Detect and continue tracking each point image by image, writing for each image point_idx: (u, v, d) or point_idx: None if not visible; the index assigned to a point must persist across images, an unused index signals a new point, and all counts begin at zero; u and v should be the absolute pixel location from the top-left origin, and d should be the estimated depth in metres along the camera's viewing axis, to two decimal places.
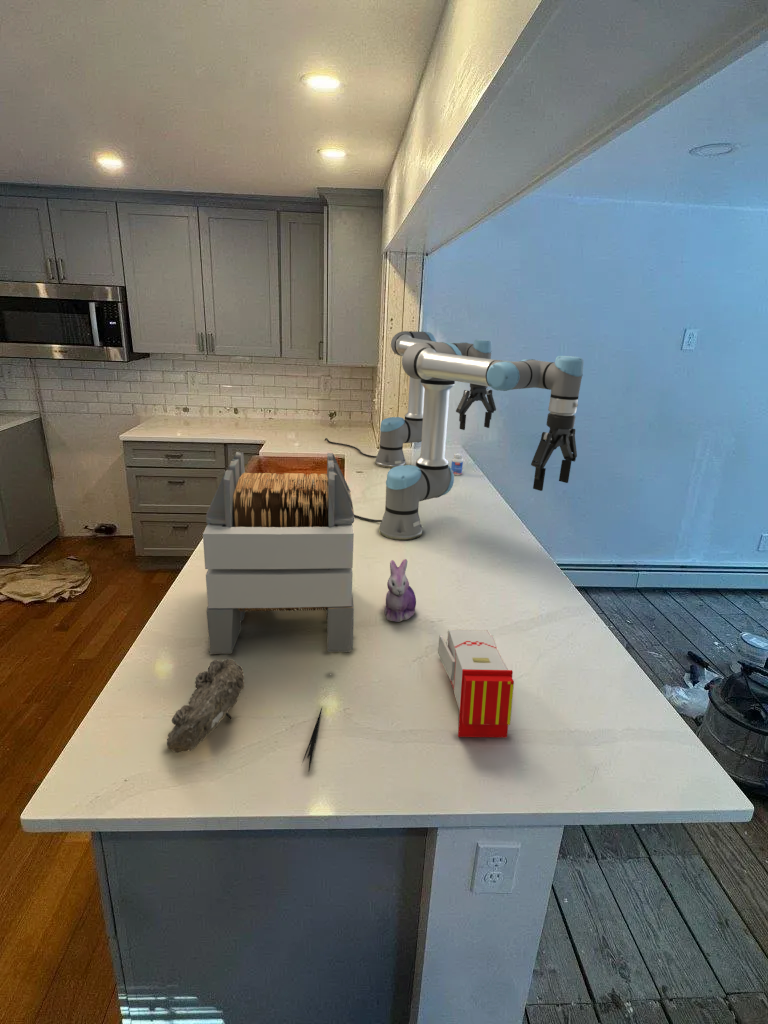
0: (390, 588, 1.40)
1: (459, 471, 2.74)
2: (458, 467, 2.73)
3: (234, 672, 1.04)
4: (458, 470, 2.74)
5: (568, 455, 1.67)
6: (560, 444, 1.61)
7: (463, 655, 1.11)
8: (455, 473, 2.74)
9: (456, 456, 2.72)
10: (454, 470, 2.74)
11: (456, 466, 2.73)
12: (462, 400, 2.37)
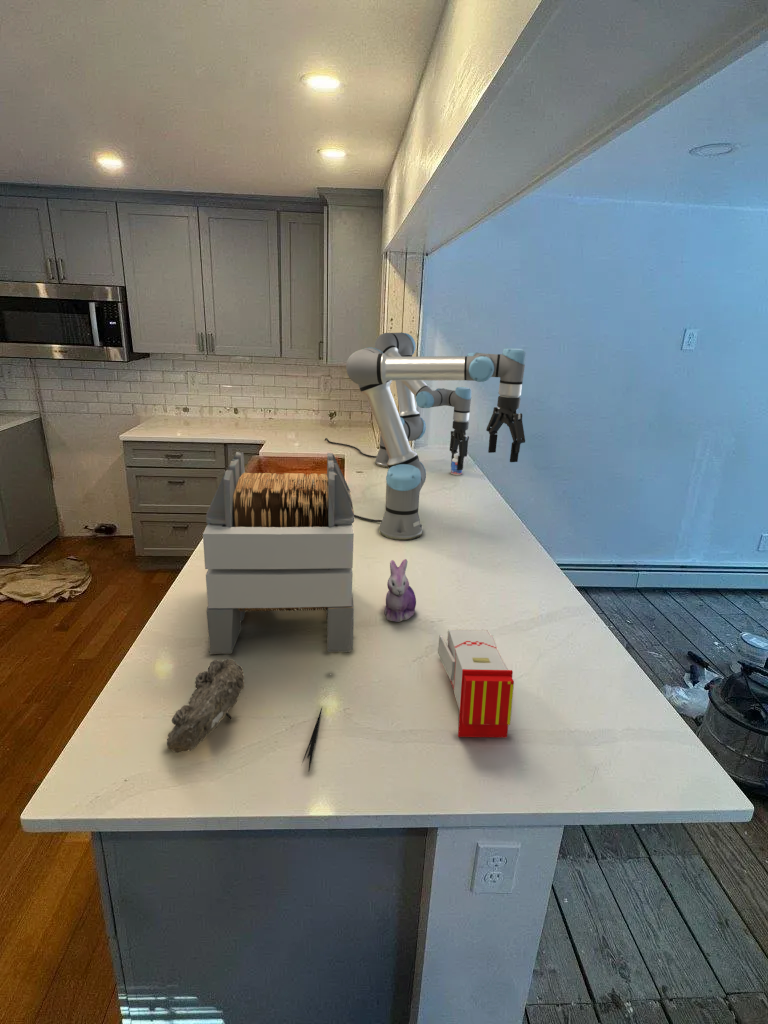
0: (390, 588, 1.40)
1: (459, 471, 2.74)
2: None
3: (234, 672, 1.04)
4: (458, 470, 2.74)
5: (497, 429, 2.02)
6: None
7: (463, 655, 1.11)
8: (455, 473, 2.74)
9: (456, 456, 2.72)
10: (454, 470, 2.74)
11: (456, 466, 2.73)
12: (465, 445, 2.66)
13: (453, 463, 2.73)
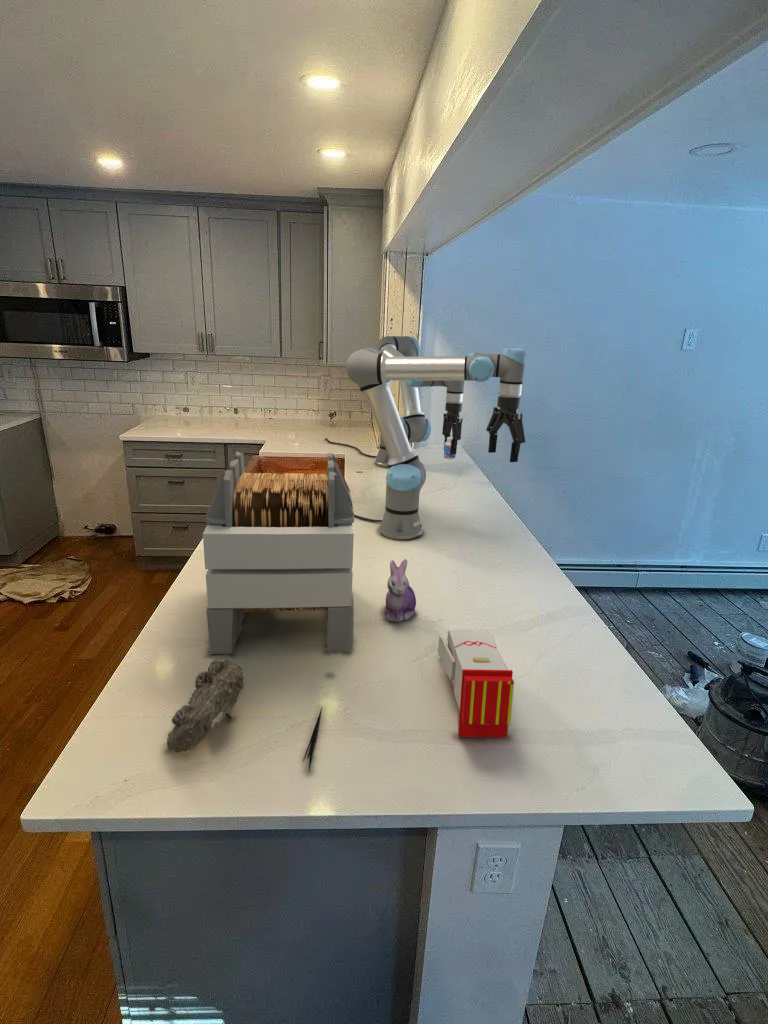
0: (390, 588, 1.40)
1: (452, 455, 2.62)
2: None
3: (234, 672, 1.04)
4: (451, 454, 2.62)
5: (497, 429, 2.02)
6: None
7: (463, 655, 1.11)
8: (448, 457, 2.62)
9: (449, 439, 2.60)
10: (448, 455, 2.62)
11: (450, 450, 2.61)
12: (459, 428, 2.55)
13: (446, 447, 2.62)
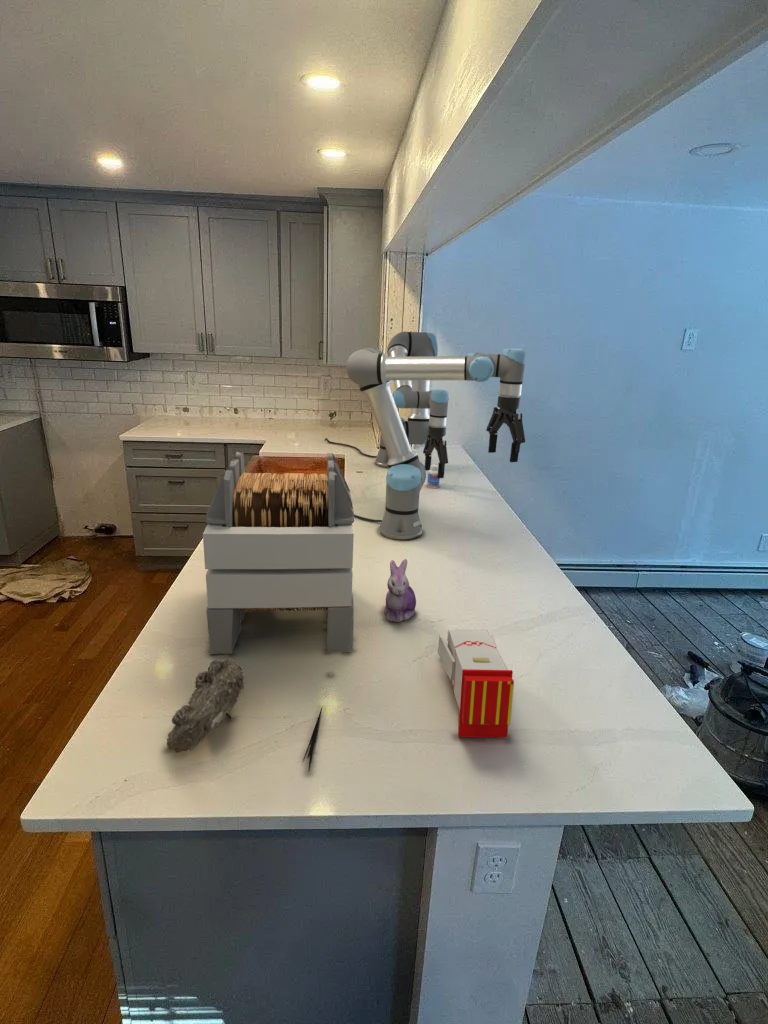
0: (390, 588, 1.40)
1: (436, 484, 2.52)
2: (435, 479, 2.51)
3: (234, 672, 1.04)
4: (434, 482, 2.52)
5: (497, 429, 2.02)
6: None
7: (463, 655, 1.11)
8: (432, 486, 2.53)
9: (432, 467, 2.51)
10: (431, 483, 2.52)
11: (433, 478, 2.51)
12: (444, 451, 2.42)
13: (429, 475, 2.52)
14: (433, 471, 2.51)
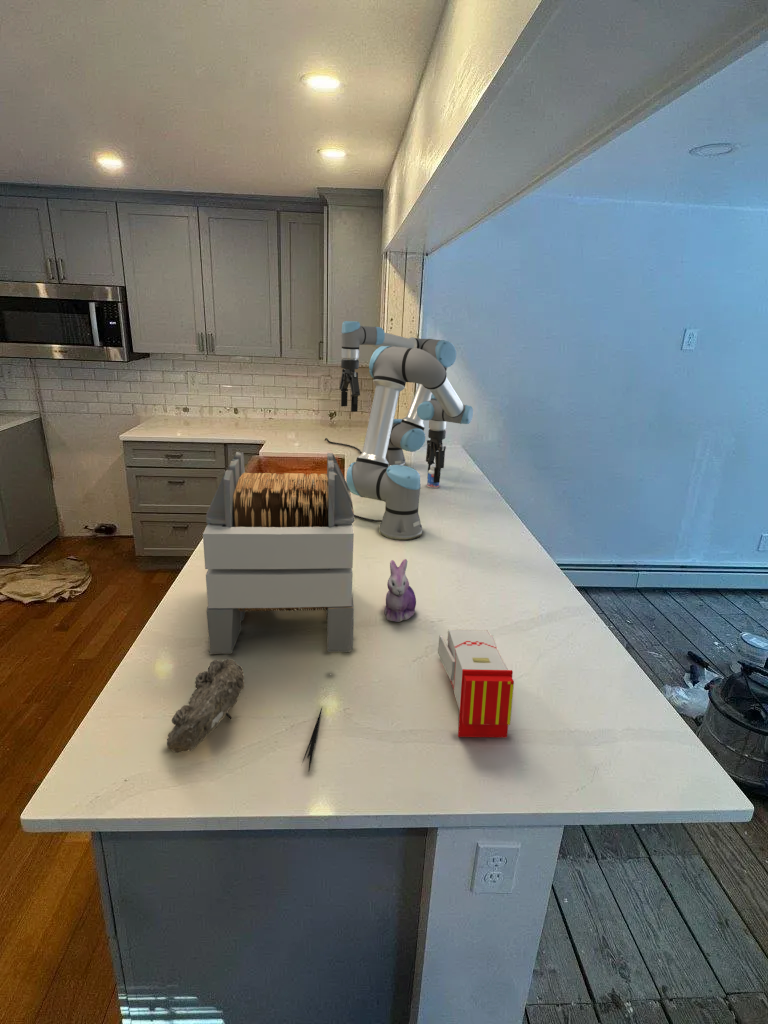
0: (390, 588, 1.40)
1: (436, 484, 2.52)
2: None
3: (234, 672, 1.04)
4: None
5: (433, 459, 2.54)
6: None
7: (463, 655, 1.11)
8: (432, 486, 2.53)
9: (432, 467, 2.51)
10: (431, 483, 2.52)
11: (433, 478, 2.51)
12: (355, 382, 2.39)
13: (429, 475, 2.52)
14: (433, 471, 2.51)
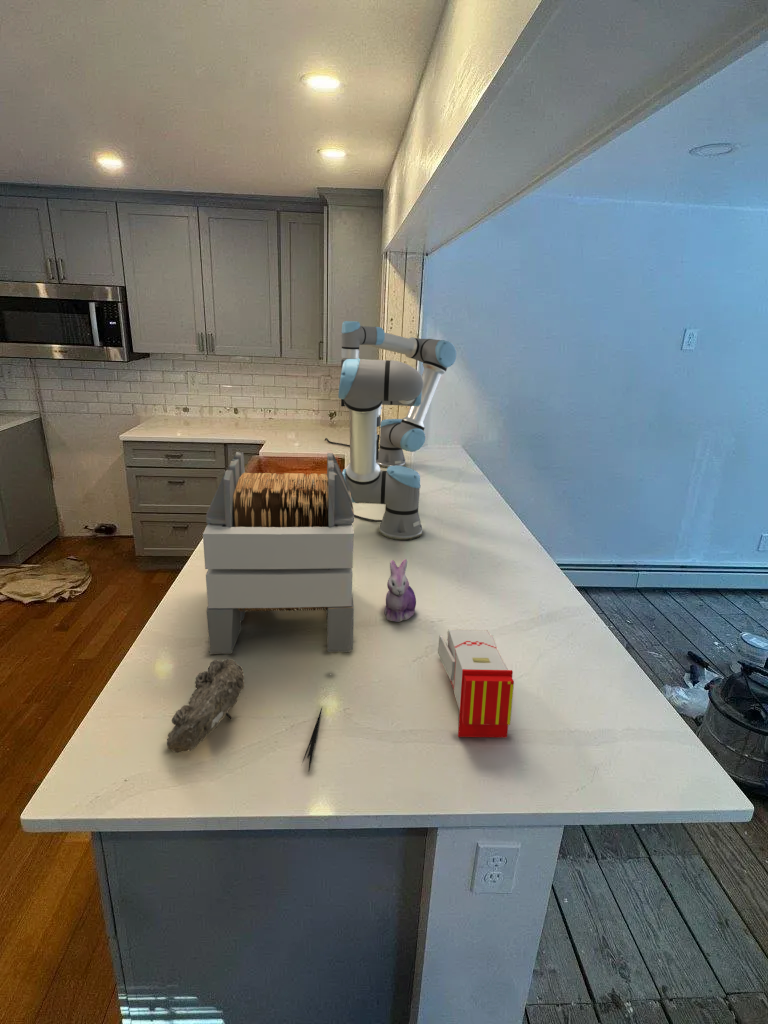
0: (390, 588, 1.40)
1: None
2: None
3: (234, 672, 1.04)
4: None
5: None
6: None
7: (463, 655, 1.11)
8: None
9: None
10: None
11: None
12: None
13: None
14: None
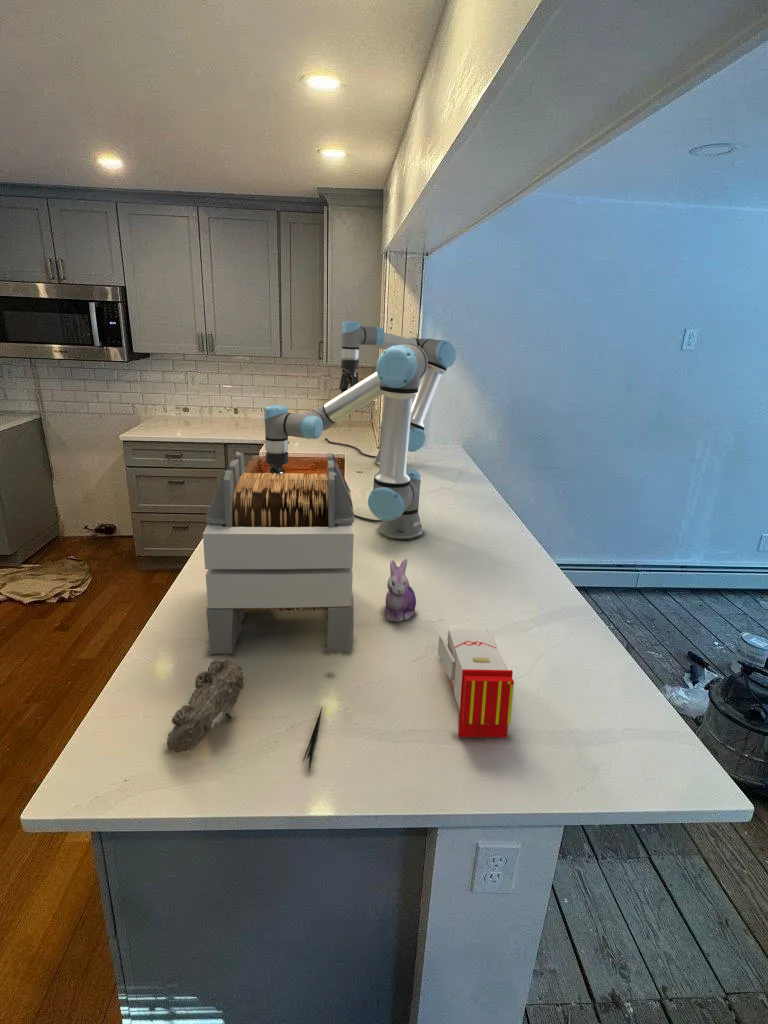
0: (390, 588, 1.40)
1: None
2: None
3: (234, 672, 1.04)
4: None
5: None
6: None
7: (463, 655, 1.11)
8: None
9: None
10: None
11: None
12: (355, 382, 2.39)
13: None
14: None
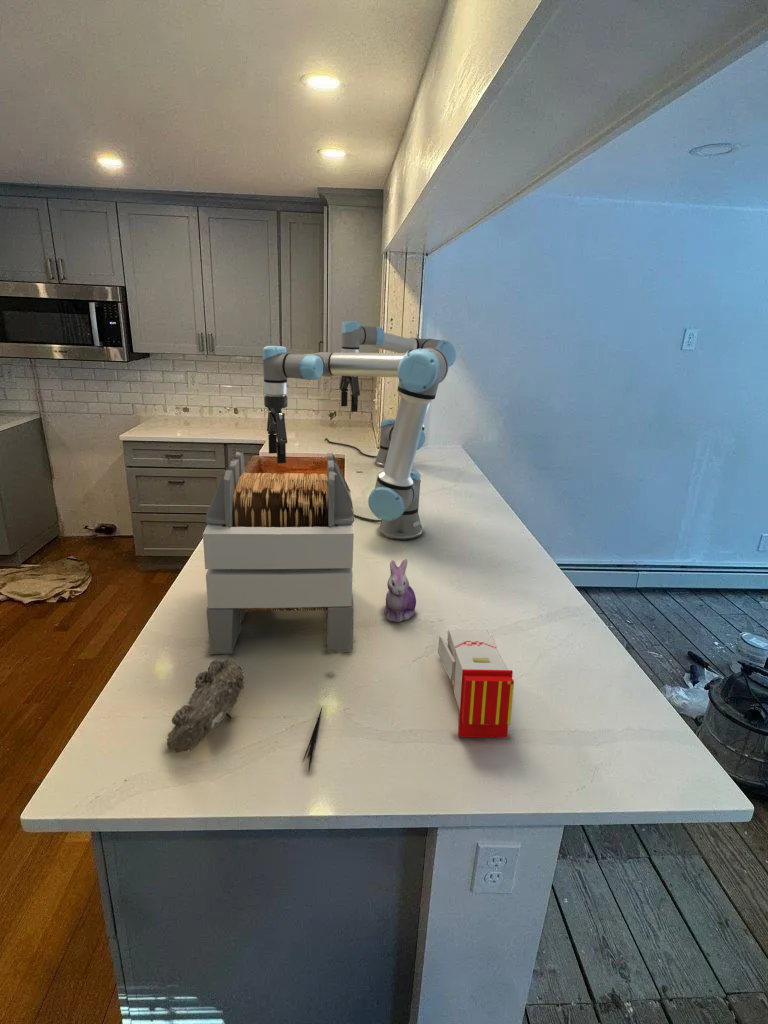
0: (390, 588, 1.40)
1: None
2: None
3: (234, 672, 1.04)
4: None
5: (275, 429, 1.96)
6: None
7: (463, 655, 1.11)
8: None
9: None
10: None
11: None
12: (355, 382, 2.39)
13: None
14: None
